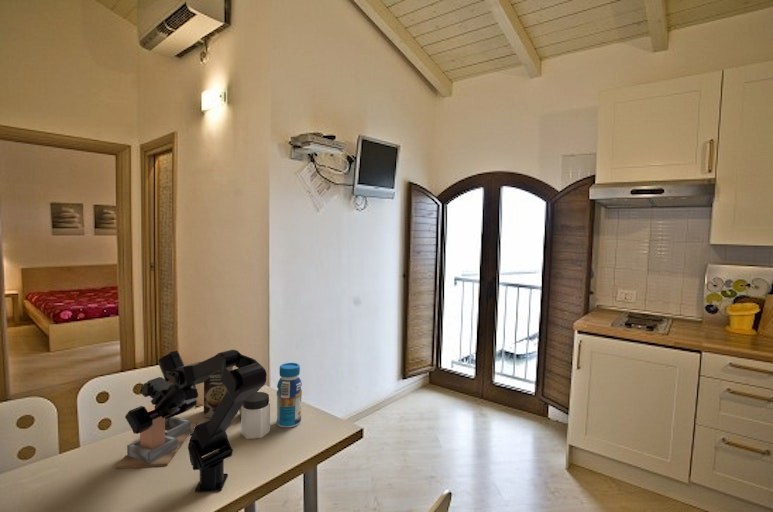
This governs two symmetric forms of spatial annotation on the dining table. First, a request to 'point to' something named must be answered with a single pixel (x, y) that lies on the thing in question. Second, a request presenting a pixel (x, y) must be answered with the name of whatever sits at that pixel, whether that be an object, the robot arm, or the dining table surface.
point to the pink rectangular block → (153, 433)
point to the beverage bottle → (289, 396)
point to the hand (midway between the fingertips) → (149, 424)
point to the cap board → (159, 462)
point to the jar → (255, 416)
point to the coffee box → (213, 393)
